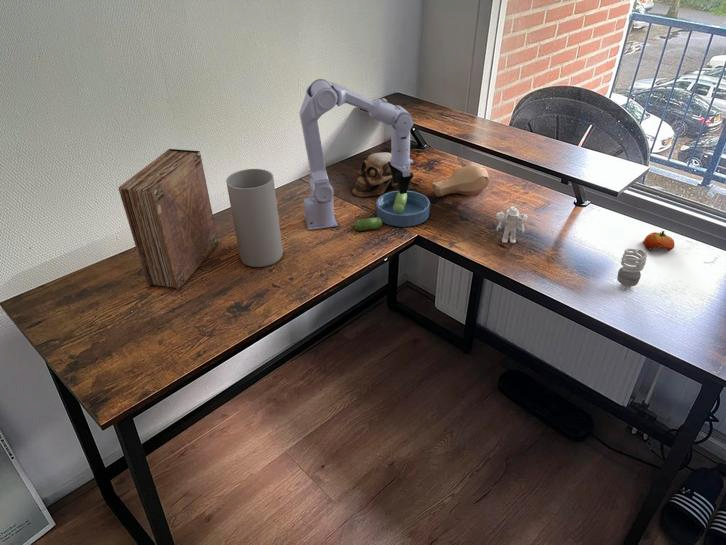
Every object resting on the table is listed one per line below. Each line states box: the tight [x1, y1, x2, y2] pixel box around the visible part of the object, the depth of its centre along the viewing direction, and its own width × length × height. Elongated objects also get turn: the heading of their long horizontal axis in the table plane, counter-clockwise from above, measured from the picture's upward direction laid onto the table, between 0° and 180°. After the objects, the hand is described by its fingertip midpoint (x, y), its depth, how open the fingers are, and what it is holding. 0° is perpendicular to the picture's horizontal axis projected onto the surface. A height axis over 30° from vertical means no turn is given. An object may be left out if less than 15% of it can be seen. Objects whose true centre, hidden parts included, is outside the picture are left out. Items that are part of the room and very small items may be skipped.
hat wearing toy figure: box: [495, 204, 528, 244], centre depth 164 cm, size 9×4×12 cm, turn 80°
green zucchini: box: [350, 216, 383, 232], centre depth 174 cm, size 10×4×4 cm, turn 103°
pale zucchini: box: [393, 192, 407, 213], centre depth 183 cm, size 10×4×4 cm, turn 165°
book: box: [118, 148, 219, 291], centre depth 153 cm, size 25×9×30 cm, turn 167°
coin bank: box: [351, 152, 398, 198], centre depth 195 cm, size 16×17×13 cm
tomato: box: [642, 230, 676, 253], centre depth 161 cm, size 8×7×7 cm
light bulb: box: [616, 248, 648, 290], centre depth 143 cm, size 6×6×12 cm
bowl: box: [375, 190, 431, 228], centre depth 181 cm, size 17×17×4 cm
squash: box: [431, 164, 490, 198], centre depth 192 cm, size 11×20×9 cm, turn 107°
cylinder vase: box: [225, 168, 284, 268], centre depth 156 cm, size 12×12×25 cm
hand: (399, 188), depth 179 cm, fingers open, 7 cm apart
